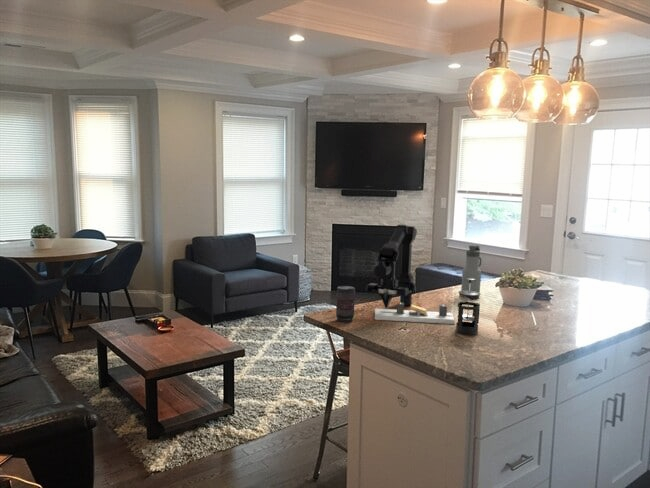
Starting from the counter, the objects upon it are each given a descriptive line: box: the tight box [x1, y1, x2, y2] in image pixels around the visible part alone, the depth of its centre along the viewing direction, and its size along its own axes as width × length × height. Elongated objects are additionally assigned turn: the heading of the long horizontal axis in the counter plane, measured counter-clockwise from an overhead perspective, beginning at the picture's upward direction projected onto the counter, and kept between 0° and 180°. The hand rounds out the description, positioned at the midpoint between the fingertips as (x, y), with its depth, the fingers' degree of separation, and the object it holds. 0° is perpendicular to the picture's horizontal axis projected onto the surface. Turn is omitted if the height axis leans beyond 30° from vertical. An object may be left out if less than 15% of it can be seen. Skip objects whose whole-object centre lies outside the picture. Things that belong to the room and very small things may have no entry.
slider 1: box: [396, 301, 405, 313], centre depth 248 cm, size 3×3×4 cm
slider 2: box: [438, 304, 448, 316], centre depth 247 cm, size 3×3×4 cm
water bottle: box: [460, 244, 482, 299], centre depth 295 cm, size 10×10×28 cm
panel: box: [374, 308, 455, 325], centre depth 248 cm, size 12×35×4 cm, turn 84°
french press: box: [454, 278, 481, 336], centre depth 228 cm, size 12×9×23 cm
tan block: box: [409, 303, 427, 315], centre depth 248 cm, size 5×7×2 cm
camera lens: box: [335, 285, 356, 324], centre depth 240 cm, size 8×8×15 cm
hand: (386, 307), depth 249 cm, fingers closed
